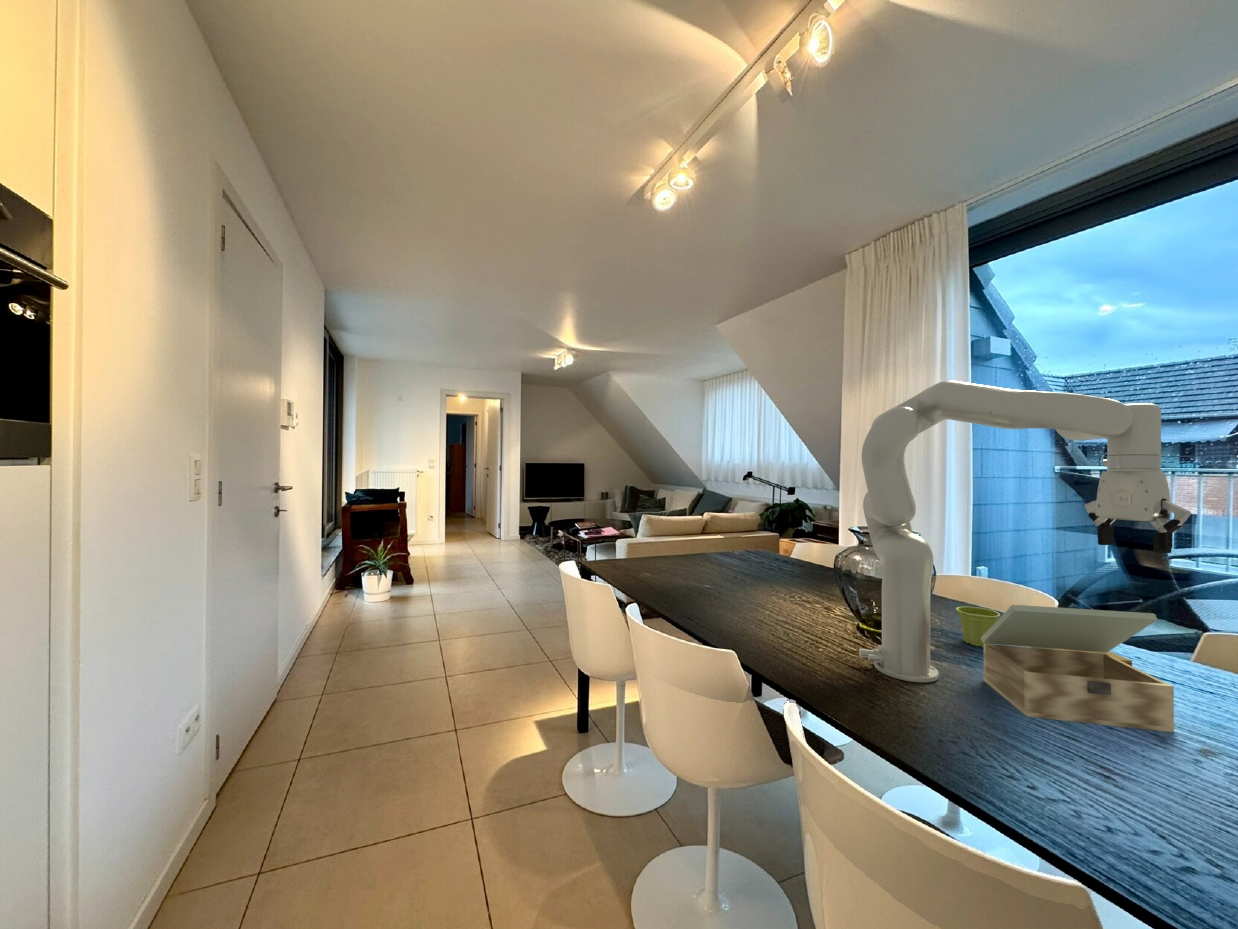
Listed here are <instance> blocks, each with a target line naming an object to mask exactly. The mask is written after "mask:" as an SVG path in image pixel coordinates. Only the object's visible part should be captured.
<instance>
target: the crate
mask: <svg viewBox="0 0 1238 929" xmlns="http://www.w3.org/2000/svg"><path fill="white" fill-rule="evenodd" d="M983 682H985V684H987V685H989V687H991V688H992V689H993V690H994V691H995V692H997V693H998V694H999V695H1000V696H1001V697H1003V698H1004V699H1005V700H1007V701H1008V702H1009V703H1010V704H1011V705H1013V707H1015V708H1016V709H1017V710H1019V711H1020V712H1021V713H1022V714H1023V715H1025V716H1026V717H1028V718H1036V719H1046V720H1055V721H1065V722H1066V721H1067V722H1073V723H1083V724H1093V725H1101V726H1112V727H1119V728H1127V729H1128V728H1130V729H1137V730H1139V729H1140V730H1147V731H1159V732H1167V733H1175V712H1174V711H1175V710H1174V709H1175V698H1174V697H1175V696H1174V694H1175V692H1174V691H1175V690H1174V688H1175V687H1174V686H1173V685H1171V684H1169V683H1167V682H1165V681H1164V680H1161V679H1159V678H1157V677H1155V676H1153V675H1151V674H1149V673H1148V672H1145V671H1143V670H1141V669H1139V668H1137V667H1134V666H1133V665H1132V666H1130V665H1128V664H1126V663H1124V662H1122V661H1120V660H1118V659H1116V658H1114V657H1112V656H1110V655H1108V654H1106V653H1095V652H1082V651H1070V650H1057V649H1044V648H1032V647H1025V646H1013V645H1000V644H984V647H983Z"/></svg>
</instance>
